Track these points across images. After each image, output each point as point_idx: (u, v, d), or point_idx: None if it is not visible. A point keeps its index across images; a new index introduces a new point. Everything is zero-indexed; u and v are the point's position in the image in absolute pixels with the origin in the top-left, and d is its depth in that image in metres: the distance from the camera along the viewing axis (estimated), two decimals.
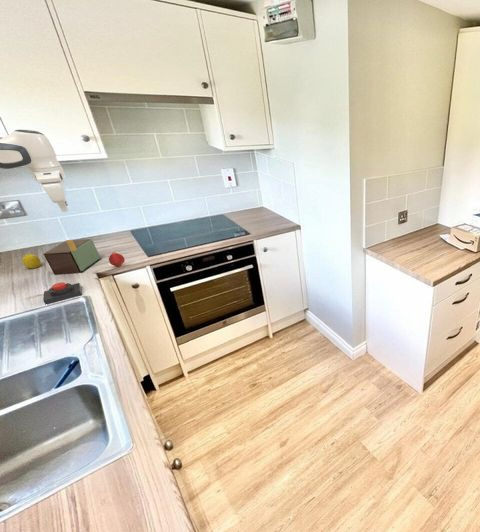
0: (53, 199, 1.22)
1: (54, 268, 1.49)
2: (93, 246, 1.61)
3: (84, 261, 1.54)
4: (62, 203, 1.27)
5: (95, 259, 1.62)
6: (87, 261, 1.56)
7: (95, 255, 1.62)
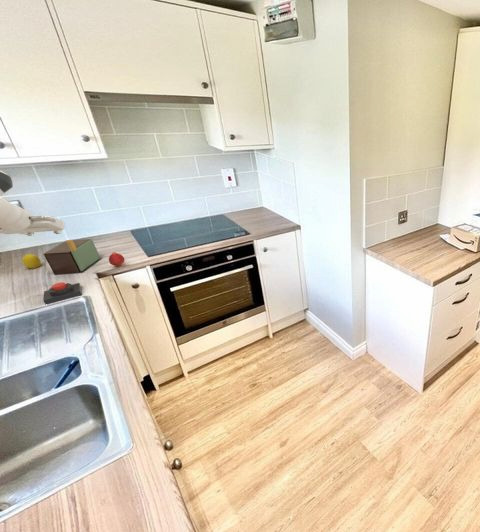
0: None
1: (54, 268, 1.49)
2: (93, 246, 1.61)
3: (84, 261, 1.54)
4: None
5: (95, 259, 1.62)
6: (87, 261, 1.56)
7: (95, 255, 1.62)
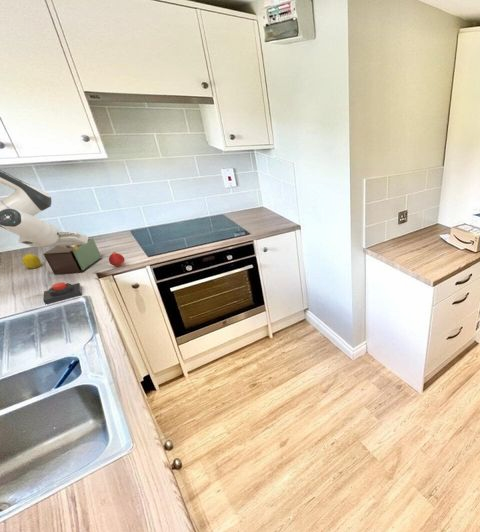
0: None
1: (54, 268, 1.49)
2: (94, 246, 1.62)
3: (85, 260, 1.55)
4: None
5: (96, 258, 1.63)
6: (88, 260, 1.57)
7: (96, 254, 1.63)
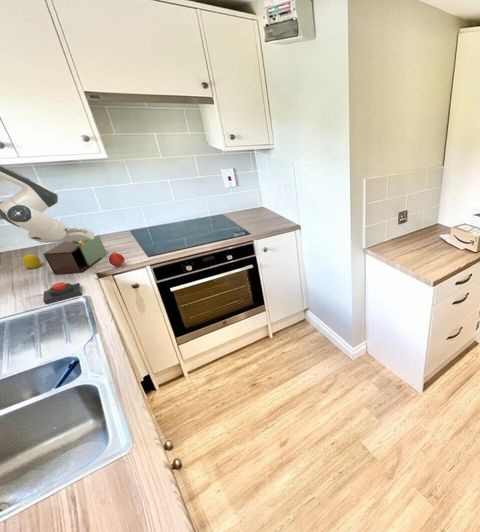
0: None
1: (54, 268, 1.49)
2: (100, 242, 1.66)
3: (91, 256, 1.59)
4: None
5: (102, 254, 1.67)
6: (94, 256, 1.61)
7: (101, 250, 1.67)
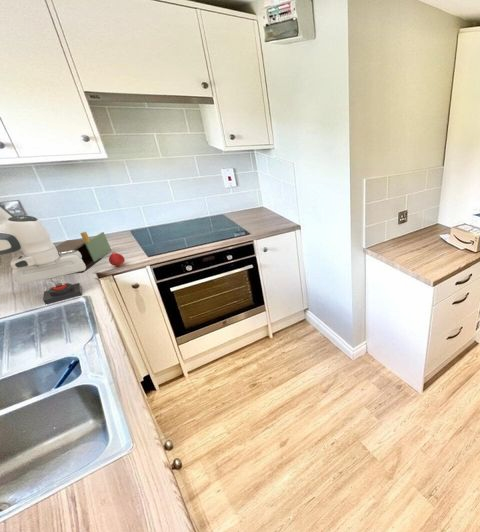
0: None
1: None
2: (105, 239, 1.70)
3: (96, 253, 1.63)
4: None
5: (106, 251, 1.71)
6: (99, 252, 1.65)
7: (106, 247, 1.71)
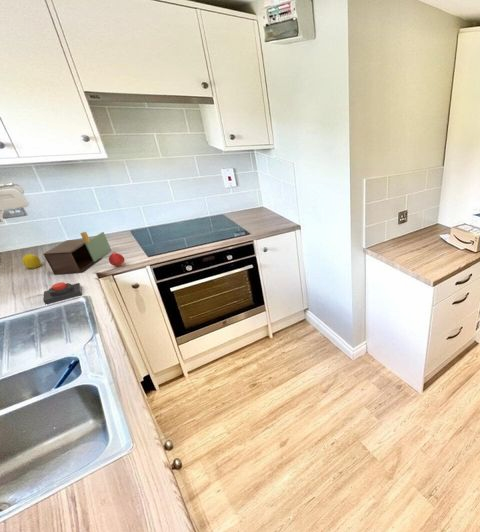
0: None
1: (54, 268, 1.49)
2: (105, 239, 1.70)
3: (96, 253, 1.63)
4: None
5: (106, 251, 1.71)
6: (99, 252, 1.65)
7: (106, 247, 1.71)
